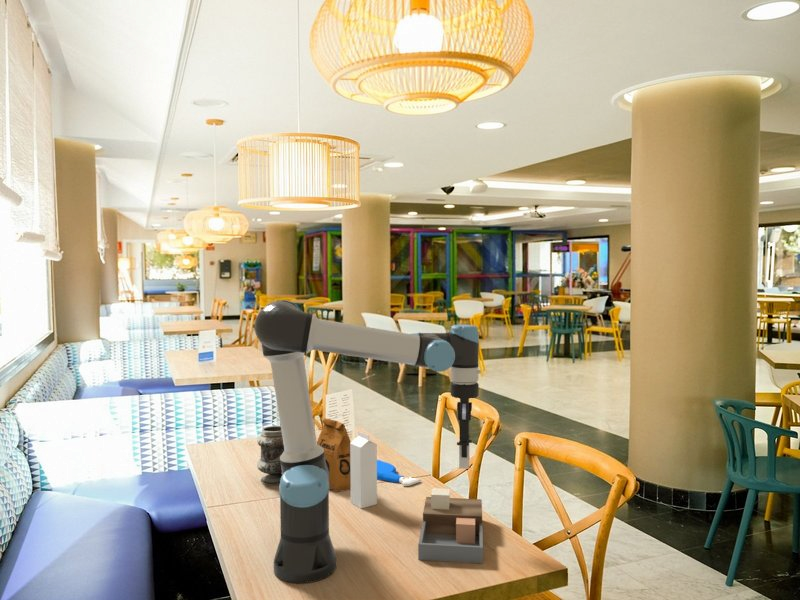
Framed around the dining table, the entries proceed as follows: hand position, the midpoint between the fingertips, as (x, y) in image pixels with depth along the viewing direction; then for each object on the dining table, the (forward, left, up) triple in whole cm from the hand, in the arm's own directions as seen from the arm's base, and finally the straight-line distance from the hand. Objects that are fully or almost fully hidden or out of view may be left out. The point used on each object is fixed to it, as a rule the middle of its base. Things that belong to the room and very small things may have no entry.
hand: (464, 467), depth 165 cm
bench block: (+4, +3, -18) cm, 19 cm away
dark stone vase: (+35, +65, -19) cm, 76 cm away
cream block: (+4, +7, -12) cm, 15 cm away
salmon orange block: (-3, -1, -15) cm, 16 cm away
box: (-9, +3, -18) cm, 21 cm away
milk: (+18, +31, -19) cm, 40 cm away
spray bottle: (+43, +27, -19) cm, 54 cm away
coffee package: (+32, +43, -19) cm, 57 cm away
